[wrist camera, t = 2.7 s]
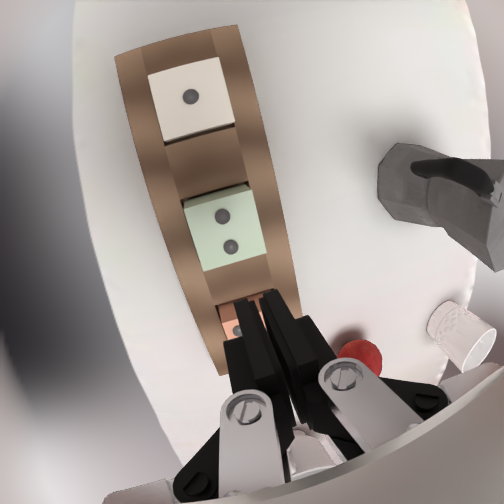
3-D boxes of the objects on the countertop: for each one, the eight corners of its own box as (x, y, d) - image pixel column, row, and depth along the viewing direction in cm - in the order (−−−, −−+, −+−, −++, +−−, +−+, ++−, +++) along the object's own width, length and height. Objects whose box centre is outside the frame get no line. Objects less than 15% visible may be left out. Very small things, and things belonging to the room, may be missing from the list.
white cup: (446, 289, 37) (491, 321, 27) (461, 307, 39) (500, 336, 30) (416, 330, 38) (455, 369, 29) (434, 343, 41) (469, 377, 32)
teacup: (305, 400, 38) (329, 452, 29) (329, 436, 44) (349, 477, 35) (233, 431, 38) (245, 485, 29) (271, 461, 44) (284, 503, 35)
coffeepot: (449, 168, 29) (568, 203, 13) (426, 235, 32) (538, 299, 16) (359, 108, 25) (517, 102, 9) (331, 193, 28) (477, 263, 11)
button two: (184, 200, 23) (183, 209, 20) (244, 183, 23) (252, 190, 20) (202, 256, 25) (203, 272, 22) (257, 239, 25) (267, 253, 22)
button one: (153, 84, 19) (147, 74, 16) (215, 68, 19) (219, 56, 16) (168, 141, 21) (163, 141, 18) (229, 124, 21) (235, 121, 18)
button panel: (122, 65, 20) (114, 56, 17) (232, 36, 21) (237, 24, 18) (216, 358, 32) (219, 376, 29) (299, 333, 33) (307, 348, 30)
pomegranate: (371, 327, 35) (404, 364, 28) (355, 361, 37) (382, 399, 30) (336, 326, 34) (367, 368, 27) (320, 362, 36) (344, 405, 28)
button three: (218, 304, 27) (221, 324, 24) (269, 288, 27) (279, 307, 24) (232, 343, 29) (237, 365, 26) (279, 328, 29) (288, 349, 26)
